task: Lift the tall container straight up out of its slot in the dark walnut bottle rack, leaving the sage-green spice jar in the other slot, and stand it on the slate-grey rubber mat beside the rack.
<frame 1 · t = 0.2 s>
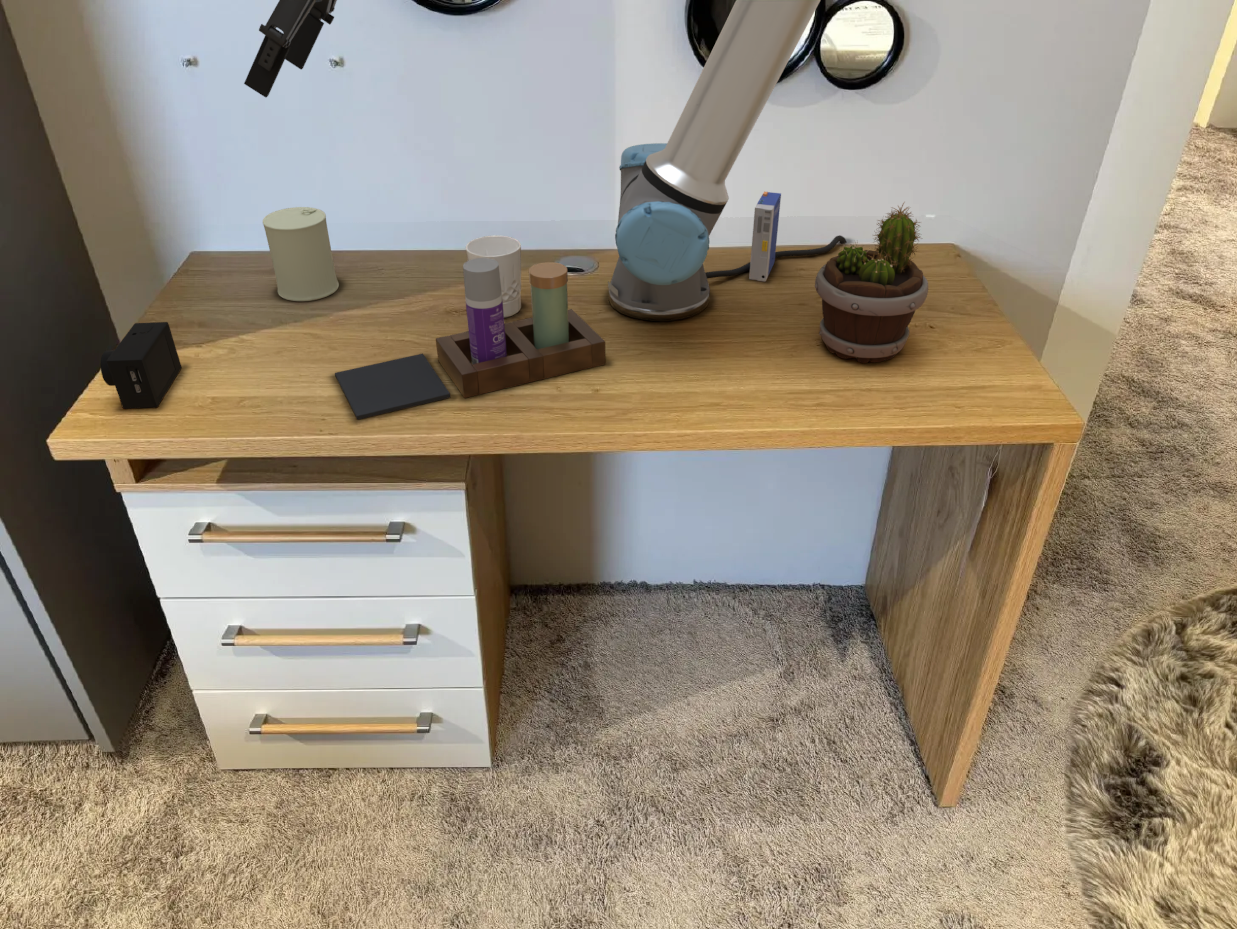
hand: (274, 75, 116), 35 cm above the table, tool tilted 35°, fingers open, 13 cm apart
white cup: (498, 310, 143), on the table
mat: (392, 386, 125), on the table
flowerpot: (861, 348, 133), on the table
walkman: (762, 272, 155), on the table
digital camera: (149, 389, 125), on the table
bottle rack: (521, 362, 130), on the table
container: (490, 371, 128), resting in bottle rack
can: (308, 290, 149), on the table
spice jar: (552, 355, 131), resting in bottle rack
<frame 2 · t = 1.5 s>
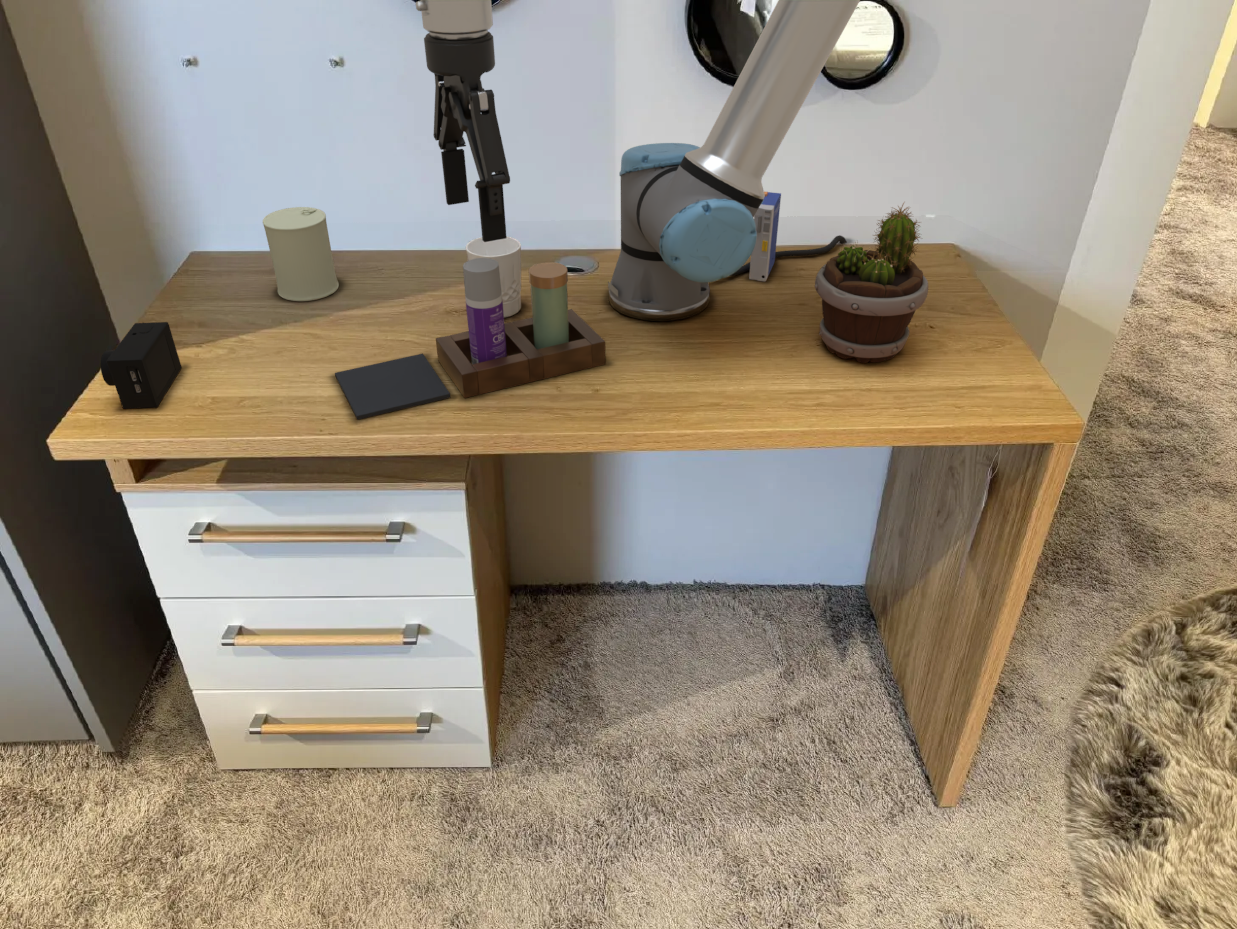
hand: (475, 220, 116), 21 cm above the table, tool pointing down, fingers open, 13 cm apart
nothing on the table moved.
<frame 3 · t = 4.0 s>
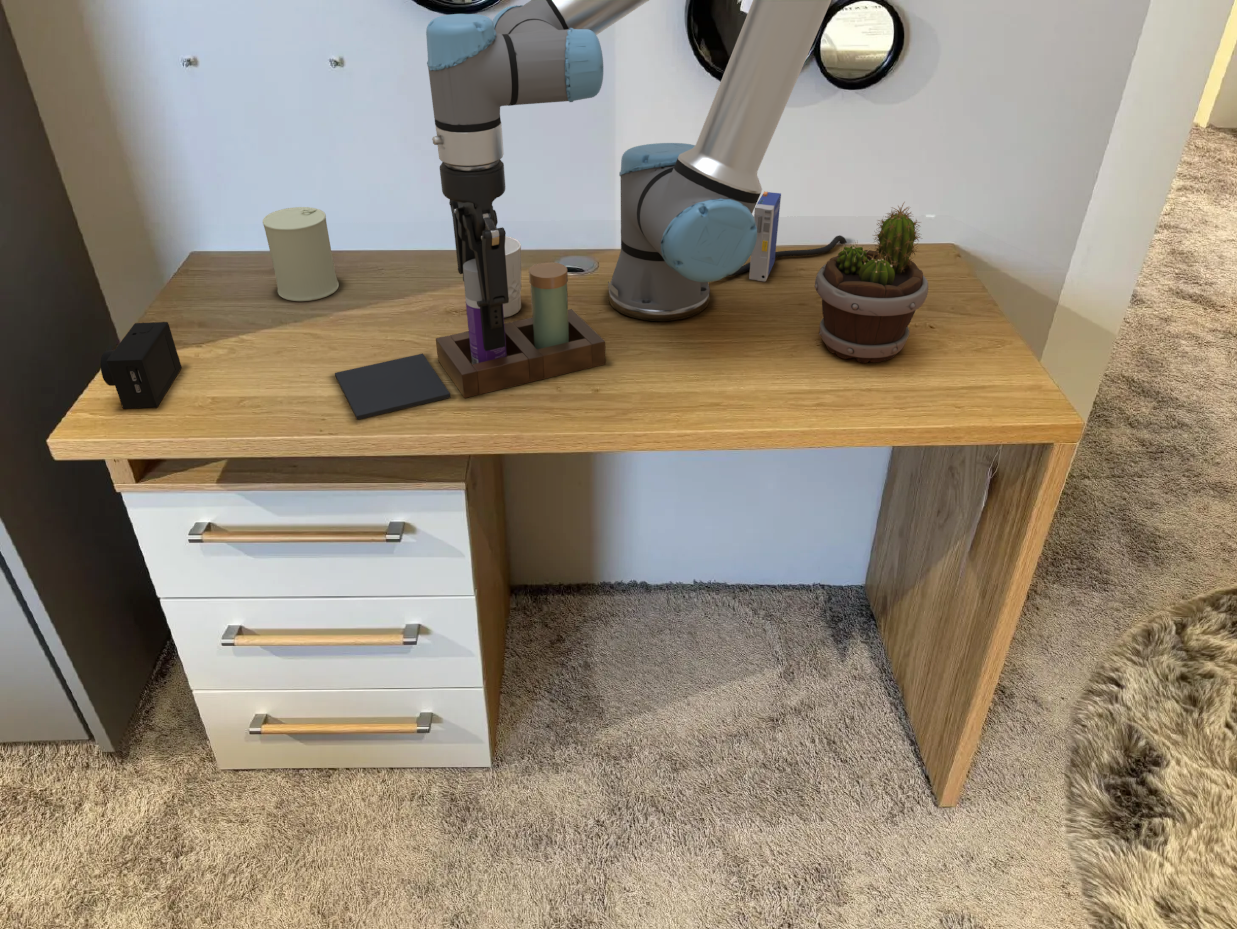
hand: (487, 338, 125), 5 cm above the table, tool pointing down, fingers closed on container, 5 cm apart
container: (490, 371, 128), resting in bottle rack, touching gripper
everything else where it was.
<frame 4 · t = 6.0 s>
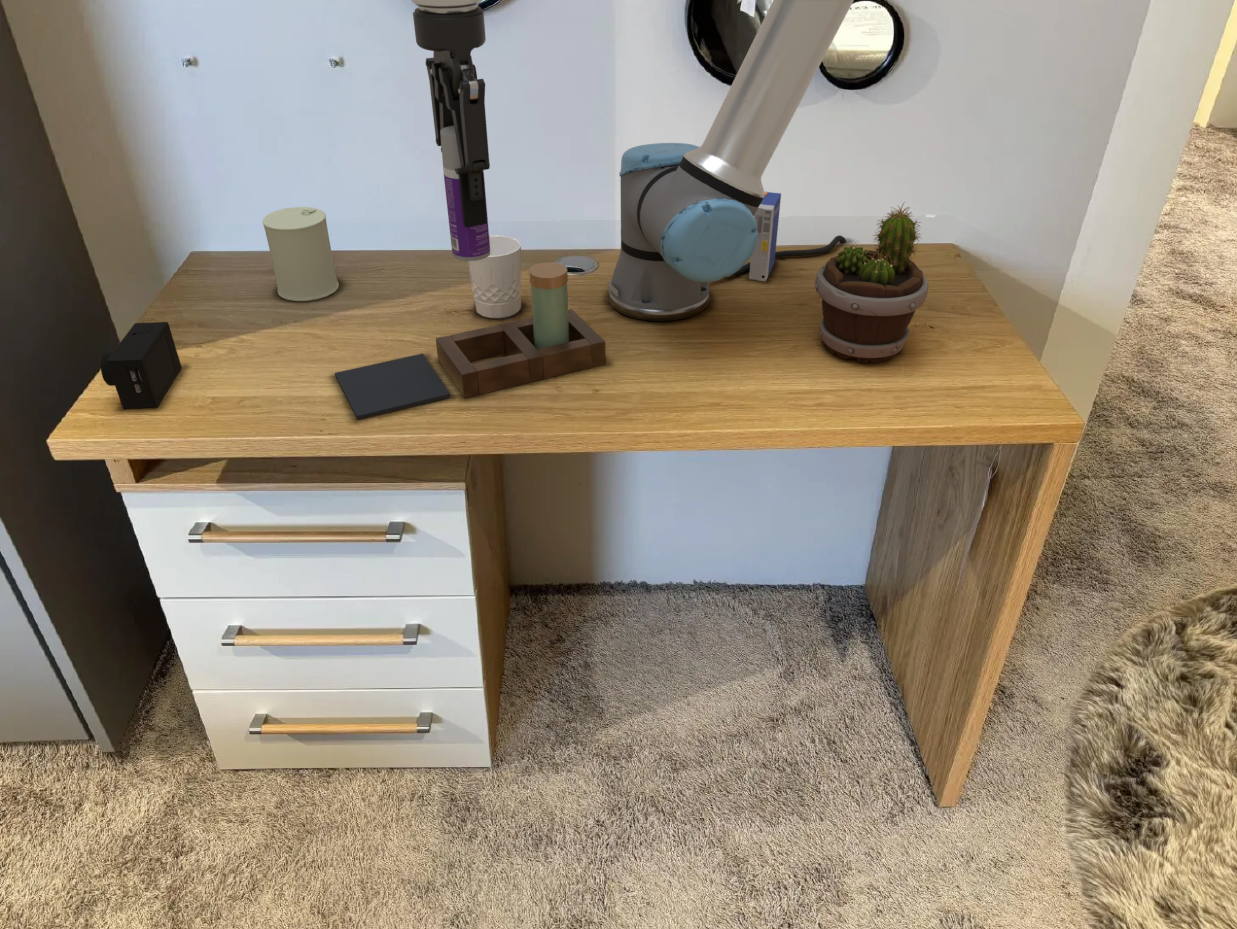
hand: (468, 216, 116), 21 cm above the table, tool pointing down, fingers closed on container, 5 cm apart
container: (471, 255, 118), point 16 cm above the table, touching gripper
everything else where it was.
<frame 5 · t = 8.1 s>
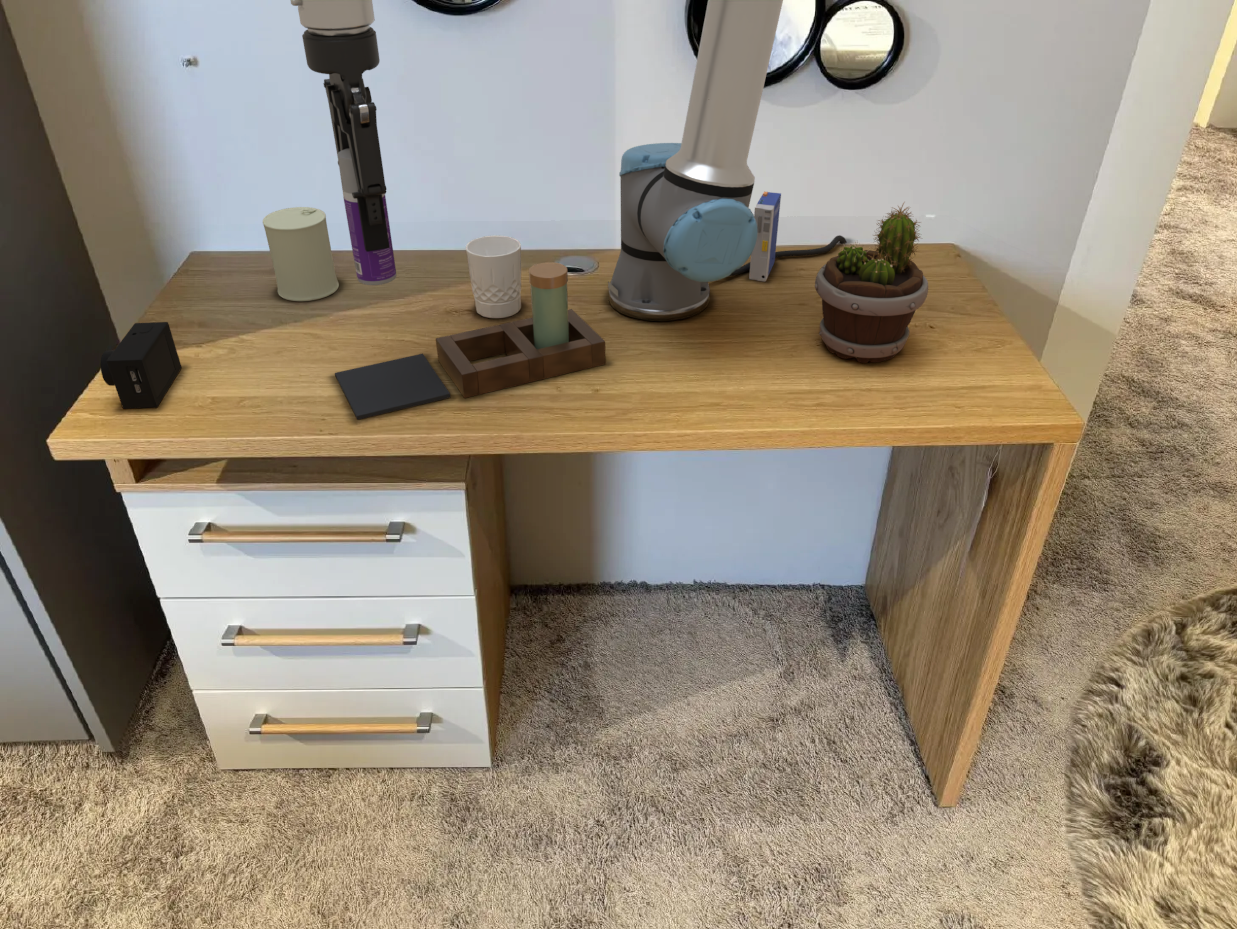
hand: (371, 240, 113), 20 cm above the table, tool pointing down, fingers closed on container, 5 cm apart
container: (377, 278, 116), point 15 cm above the table, touching gripper
everything else where it was.
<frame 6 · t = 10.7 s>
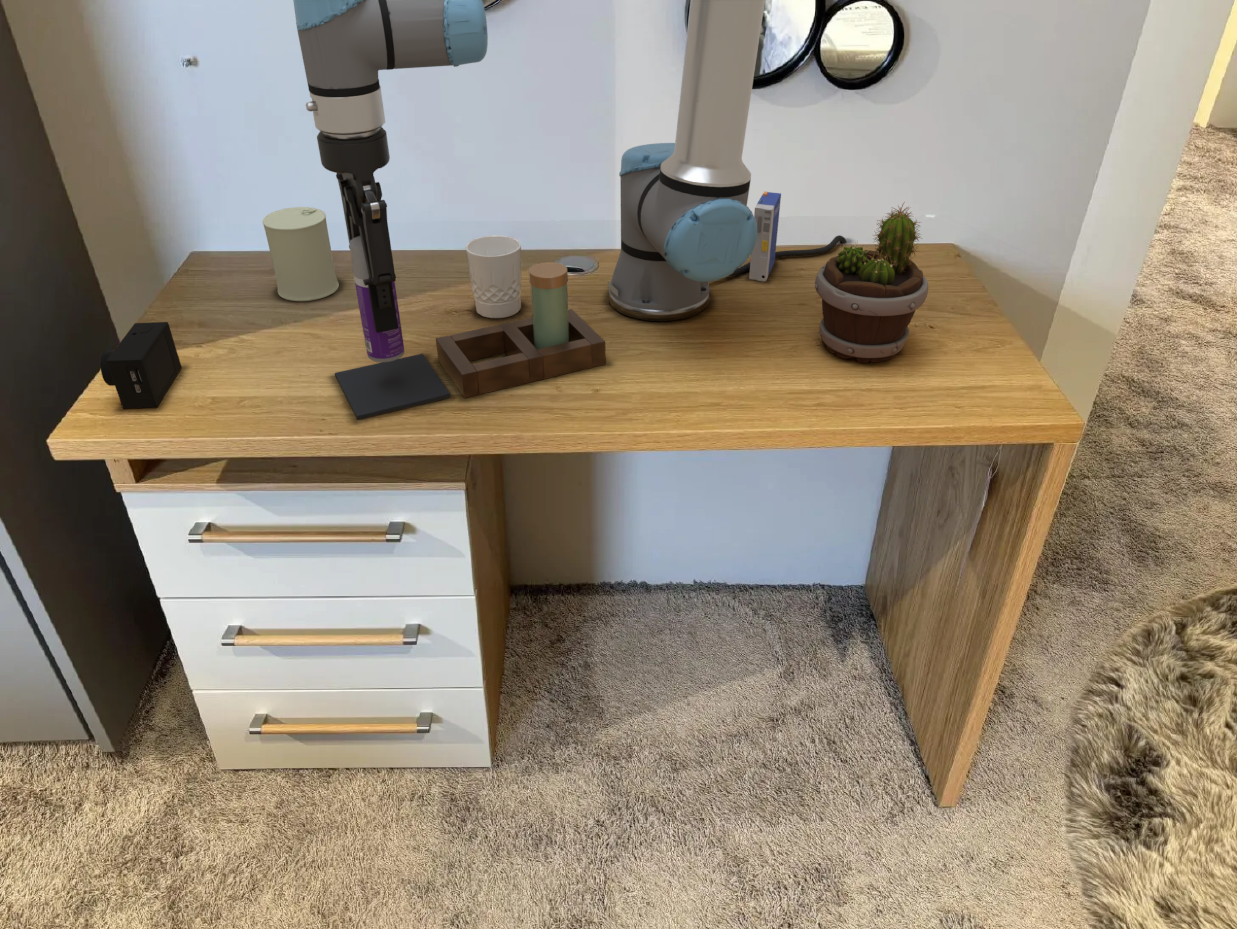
hand: (381, 320, 119), 10 cm above the table, tool pointing down, fingers closed on container, 5 cm apart
container: (386, 354, 122), point 5 cm above the table, touching gripper
everything else where it was.
when the fingers open (5 cm above the table, at t = 12.3 s): container stays where it is, resting on mat.
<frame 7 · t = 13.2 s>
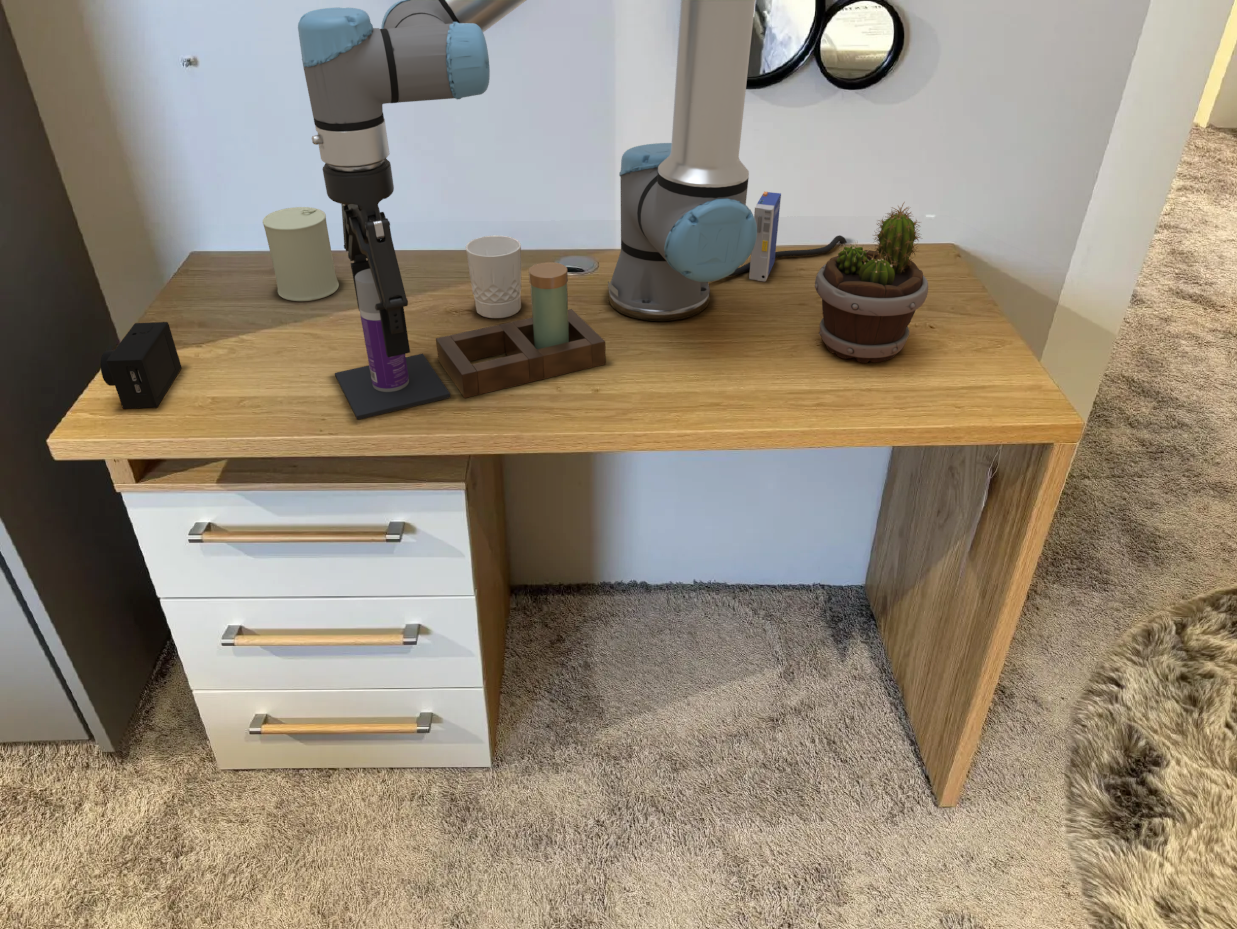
hand: (383, 330, 120), 8 cm above the table, tool pointing down, fingers open, 13 cm apart
container: (391, 384, 124), resting on mat
everything else where it was.
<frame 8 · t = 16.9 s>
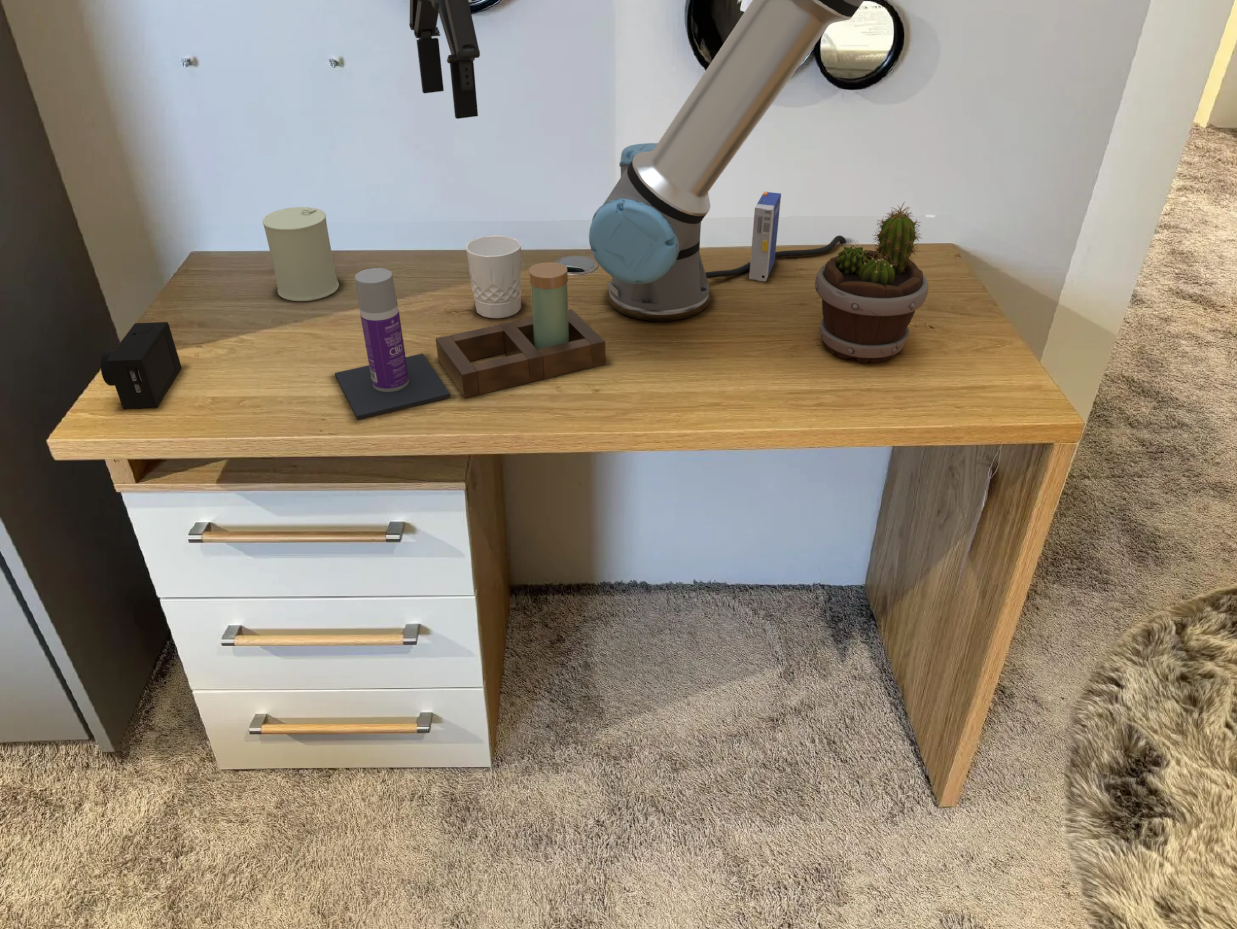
hand: (449, 103, 122), 31 cm above the table, tool pointing down, fingers open, 13 cm apart
nothing on the table moved.
at the end: container inside the target area on the mat (0.1 cm from its centre), point 0.4 cm above the mat's base; container tilted 0°; the gripper is holding nothing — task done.
